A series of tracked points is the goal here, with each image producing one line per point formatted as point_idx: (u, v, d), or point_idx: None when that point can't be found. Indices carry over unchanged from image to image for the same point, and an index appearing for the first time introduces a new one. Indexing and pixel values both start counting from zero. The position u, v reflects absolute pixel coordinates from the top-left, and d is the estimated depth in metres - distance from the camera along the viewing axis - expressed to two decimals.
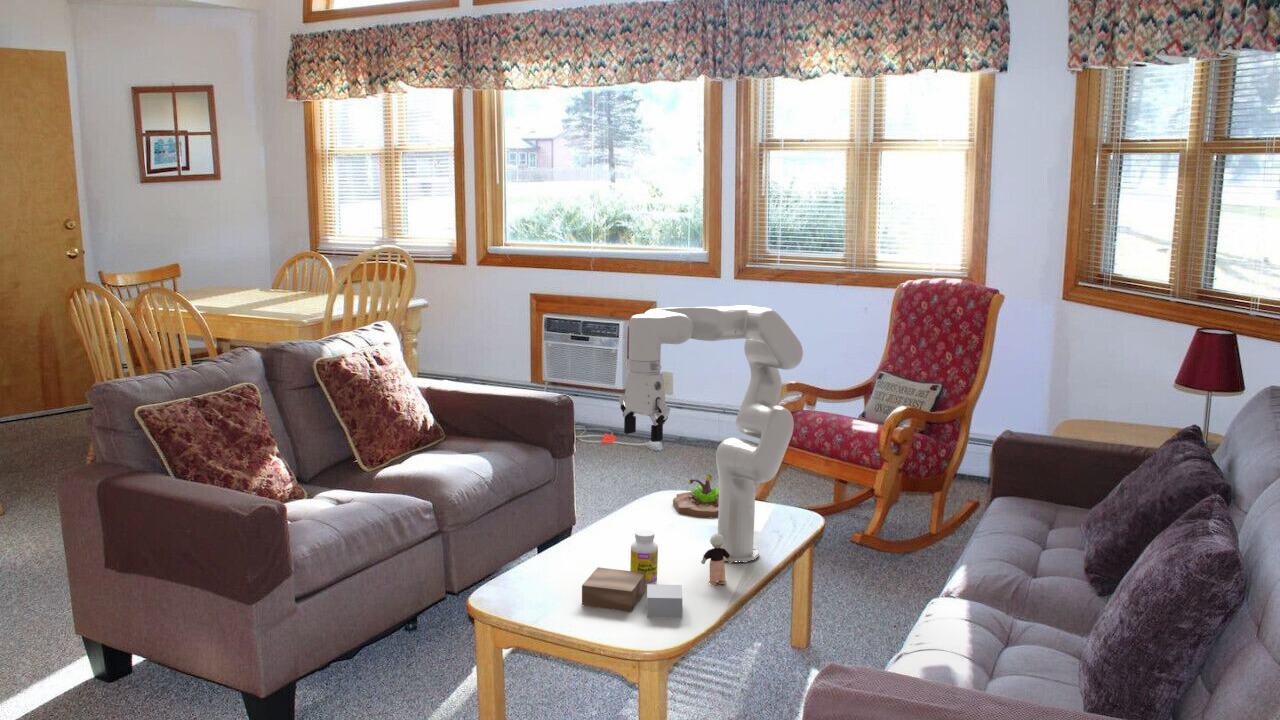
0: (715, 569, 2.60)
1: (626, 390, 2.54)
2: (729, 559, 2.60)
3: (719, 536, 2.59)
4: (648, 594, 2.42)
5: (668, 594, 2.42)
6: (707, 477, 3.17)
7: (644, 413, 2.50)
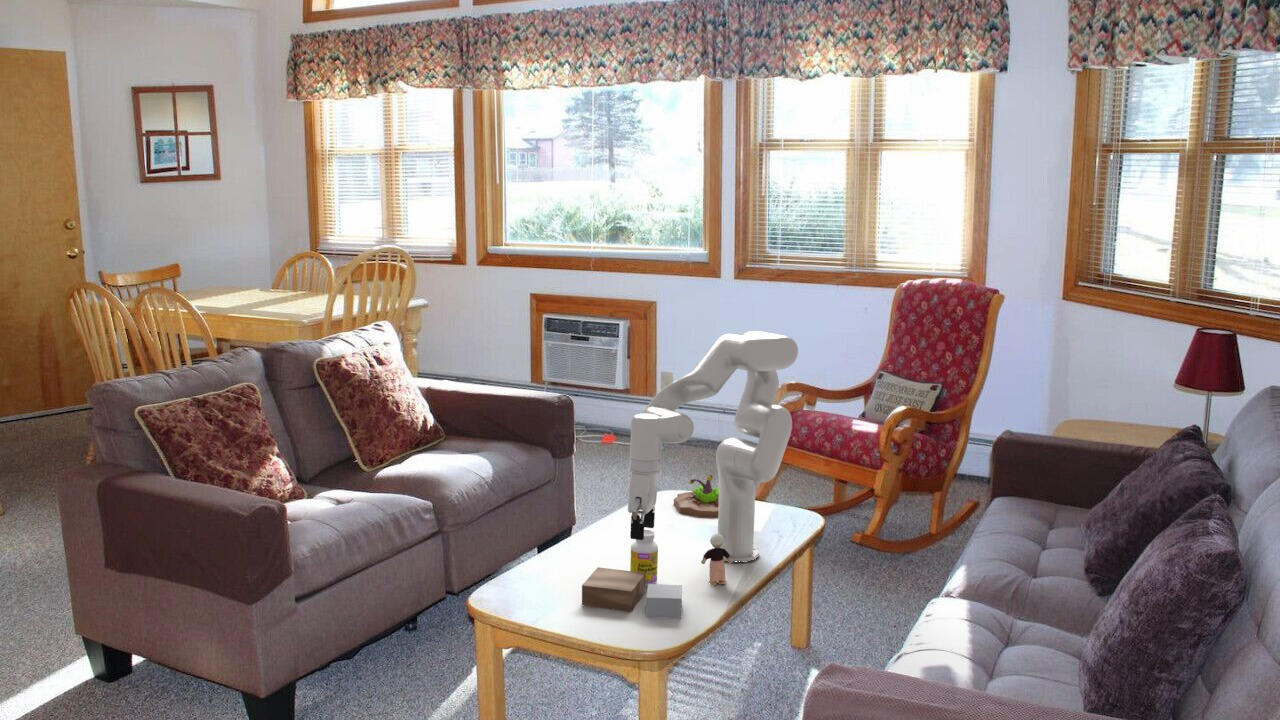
0: (715, 569, 2.60)
1: (648, 494, 2.53)
2: (729, 559, 2.60)
3: (719, 536, 2.59)
4: (647, 594, 2.42)
5: (668, 594, 2.42)
6: (708, 477, 3.17)
7: (654, 505, 2.60)
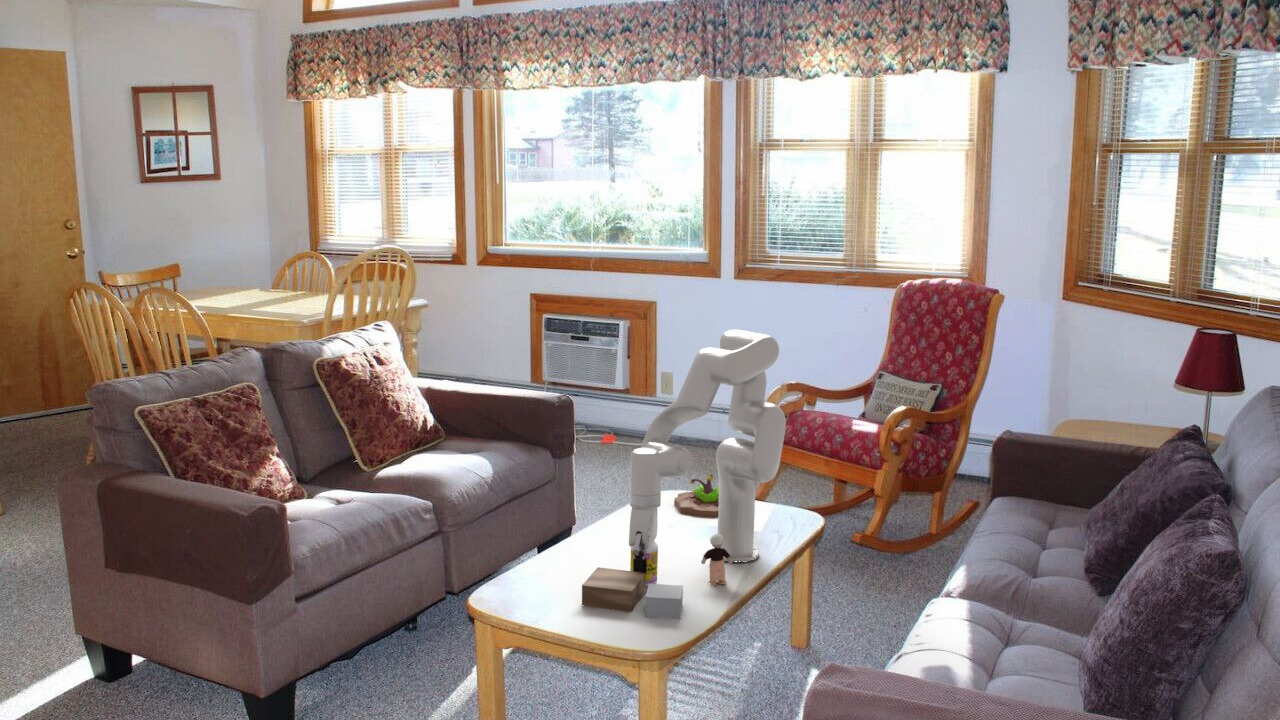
0: (715, 569, 2.60)
1: (649, 529, 2.54)
2: (729, 559, 2.60)
3: (719, 536, 2.59)
4: (647, 593, 2.42)
5: (668, 594, 2.42)
6: (708, 477, 3.17)
7: None
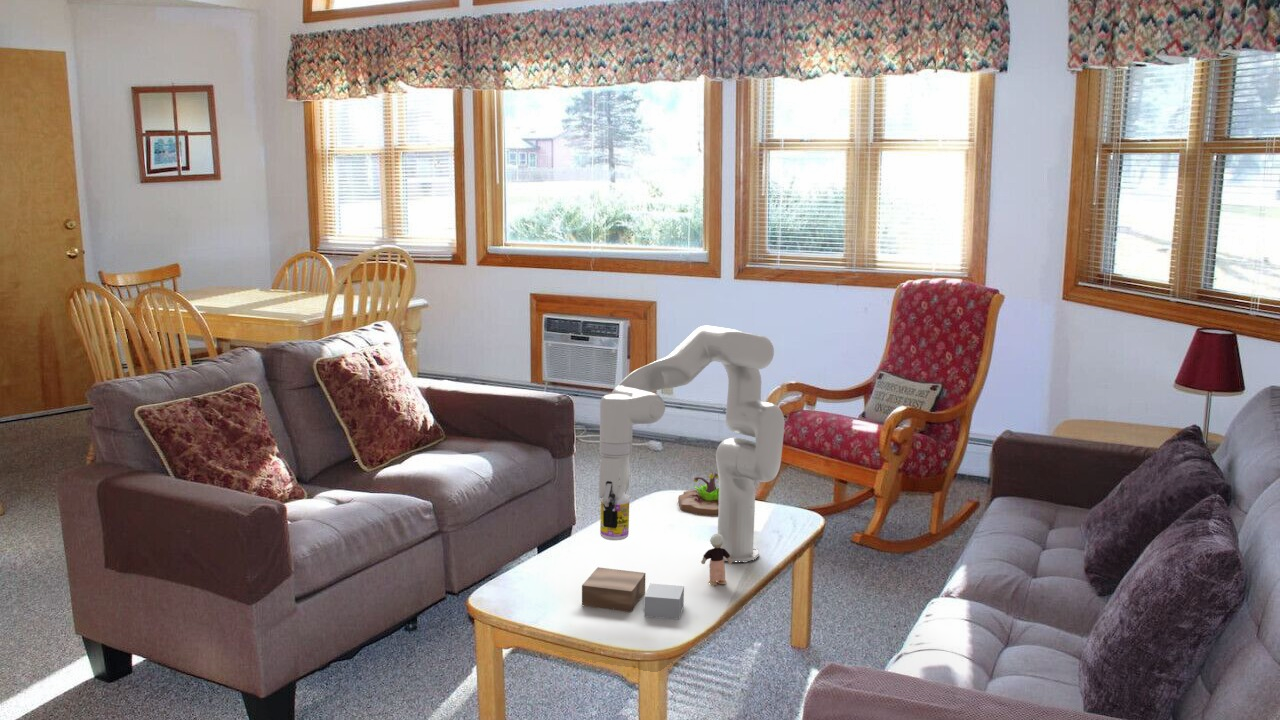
0: (715, 569, 2.60)
1: (619, 478, 2.41)
2: (729, 559, 2.60)
3: (719, 536, 2.59)
4: (646, 593, 2.42)
5: (667, 594, 2.42)
6: (710, 475, 3.19)
7: (626, 490, 2.48)
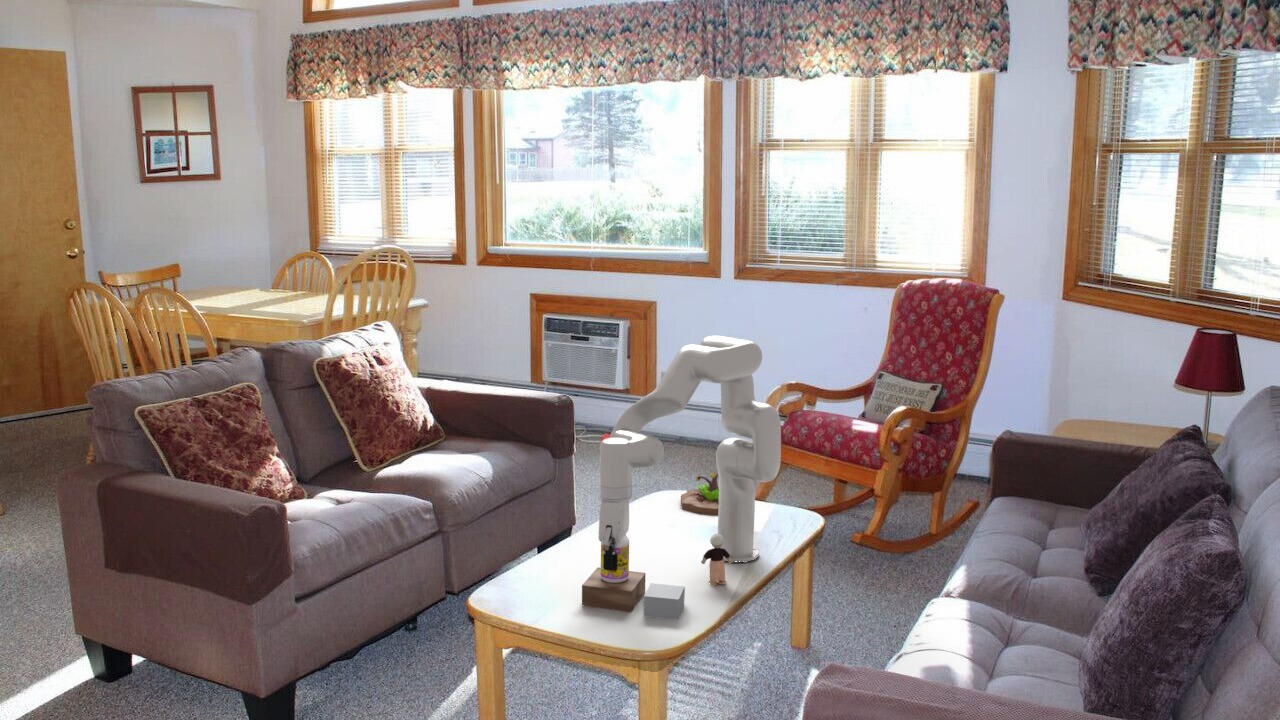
0: (715, 569, 2.60)
1: (619, 522, 2.43)
2: (729, 559, 2.60)
3: (719, 536, 2.59)
4: (646, 592, 2.43)
5: (667, 594, 2.42)
6: (712, 474, 3.20)
7: (626, 532, 2.50)
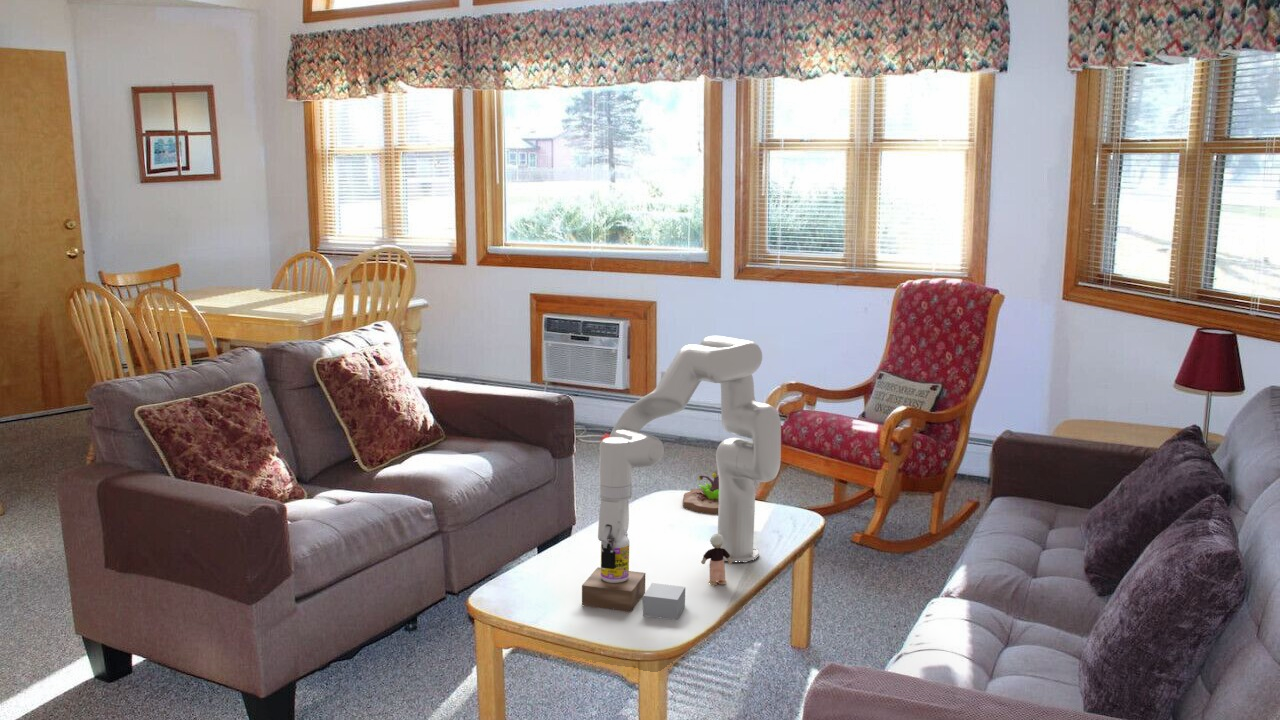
0: (715, 569, 2.60)
1: (619, 522, 2.43)
2: (729, 559, 2.60)
3: (719, 536, 2.59)
4: (646, 592, 2.43)
5: (666, 594, 2.42)
6: (713, 474, 3.20)
7: (626, 531, 2.50)
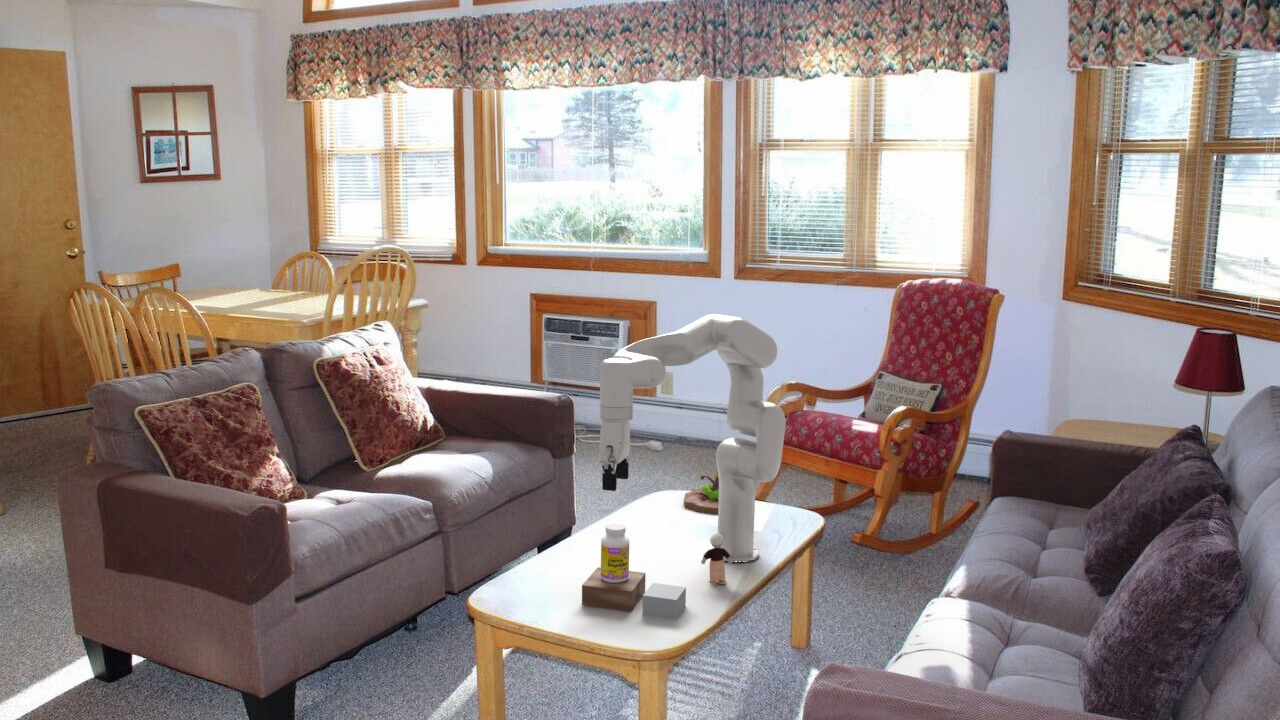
0: (715, 569, 2.60)
1: (620, 443, 2.40)
2: (729, 559, 2.60)
3: (719, 536, 2.59)
4: (646, 592, 2.43)
5: (666, 594, 2.42)
6: (714, 474, 3.20)
7: (627, 455, 2.47)
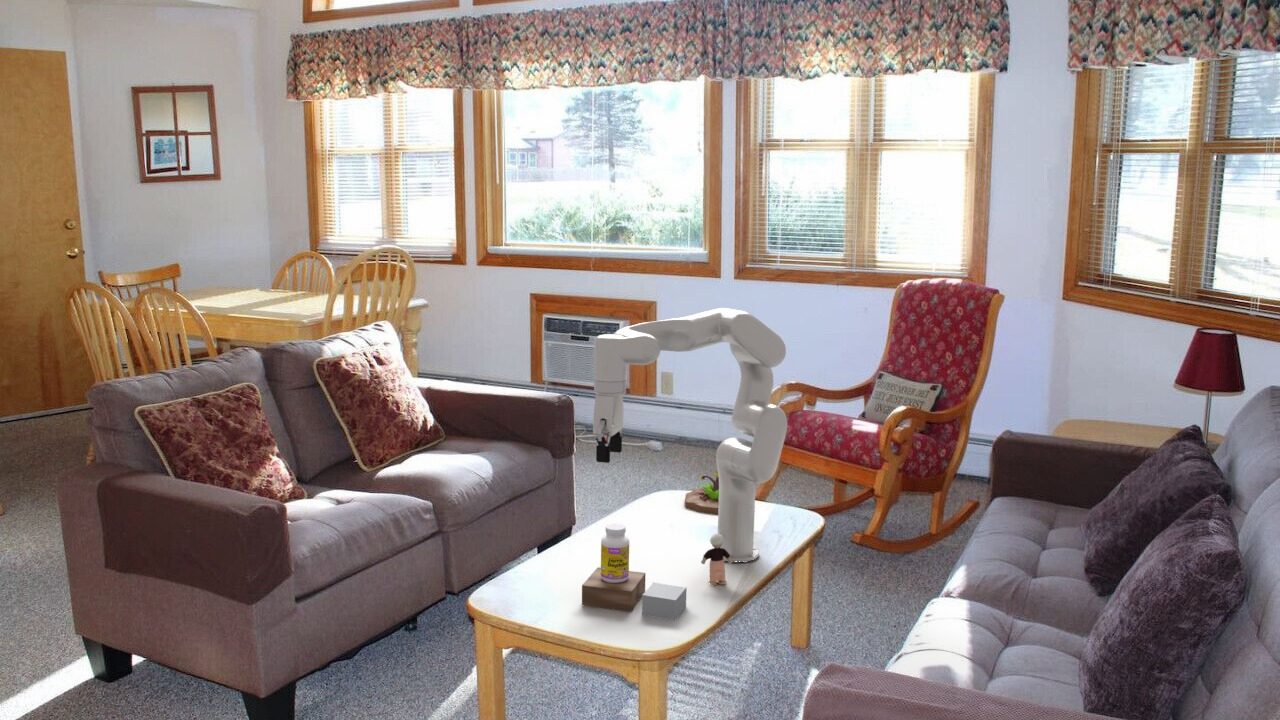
0: (715, 569, 2.60)
1: (613, 416, 2.48)
2: (729, 559, 2.60)
3: (719, 536, 2.59)
4: (646, 591, 2.43)
5: (666, 594, 2.42)
6: (715, 474, 3.20)
7: (620, 428, 2.55)
